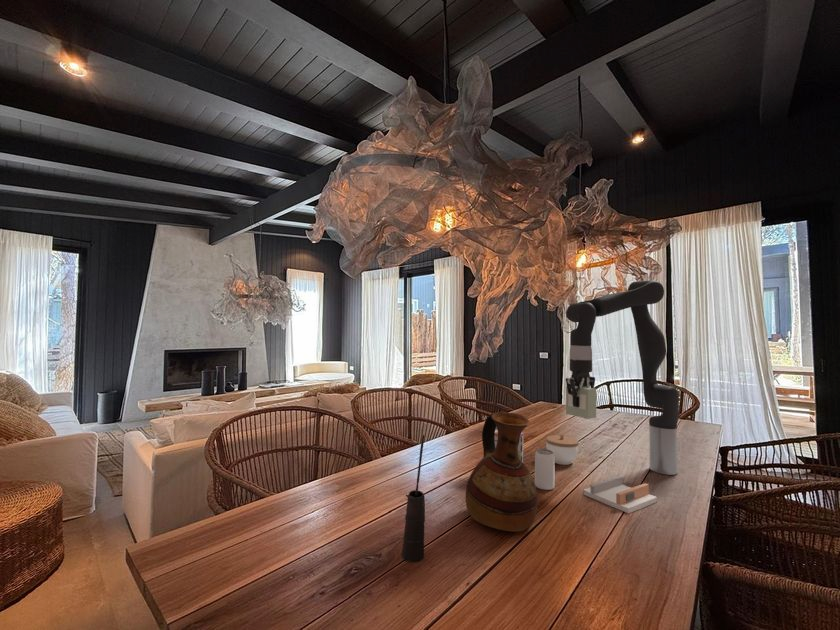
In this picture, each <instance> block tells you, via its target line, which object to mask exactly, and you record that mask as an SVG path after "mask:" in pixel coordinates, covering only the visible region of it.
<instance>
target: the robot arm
mask: <svg viewBox="0 0 840 630" xmlns="http://www.w3.org/2000/svg"><path fill="white" fill-rule="evenodd" d="M664 295H665V288H664V286H663V284H662V283H661V282H660V281H658V280H652V279H650V280H649V279H648V280H637V281H633V282H631V283H630V284H629V285H628V287H627V290H625V291H620V292H615V293H610V294H605V295H602V296H598V297H595V298H592V299H589V300H584V301H579V302H574V303H572V304H570V305H569V306H567V308H566V310H565V315H566V318H567V319H568V321H570V322H573V323H577V326H576V327H575V329H572V330H571V331H570V336H569V337H570V339H569V341H570V344H569V345H570V346H569V371H570V372H571V375H570V377H566V378H565V383H566V386H567V390H568V394H570V395H572V396H573V406H574V407H579V395H580V390H581V388H582V387H586V388H594V389H595V382H596V377H595V376H591V375H590V373H592V372H593V348H592V334H593V330H594V327H595V324H596V319H597V318H599V317H603V316H607V315H609V314H614V313H616V312H619V311H623V310H626V309H629V308H630V310H631V314H632V318H633V322H634V327H635V328H634V329H635V333H636V334H635V335H636V338H637V340H636V341H637V347H638V353H639V358H640V364H641V370H642V373H641V374H642V386H643V388H642V389H643V398H644V402H645V403H646V405H647V406H649V407H650V408H655V409H661V410H662V413H661V415H655V416H650V417H649V419H648V420H649V422H648V425H649V426H648V432H649V433H648V435H649V437H648V439H649V440H648V444H649V445H648V446H649V447H648V448H649V450H648V451H649V452H648V454H649V455H648V456H649V460H648V461H649V466H648V467H649V468H648V469H649V470H650V471H652V472H655V473H657V474H662V475H668V476H670V475H671V476H675V475H677V474H678V421H679V409H680V395H679V391H678V389H677V388H676V387H674V386H672V385H664V384H658V381H657V380H658V379H657V378H658V377H657V373H658V370H659V368H660V366H661V365H662V363H663V362H664V360H665V359H666V358H665V357H666V356H667V346H666V340H665V339H666V338H665V335H664V333H663V331H662V330H661V329H660V327H659V326H658V325H657V323H656V322H655V321H654V320H653V318H652V316H651V314H650V312H649V308H648V307H649V306H648V305H653V304H654V305H655V304H657V303H659V302H660V301H661V300H662V299H663V298H664ZM575 386H576V387H575ZM571 389H572V391H571ZM576 390H577V393H576Z"/></svg>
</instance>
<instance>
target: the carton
mask: <svg viewBox="0 0 840 630" xmlns="http://www.w3.org/2000/svg"><path fill="white" fill-rule="evenodd" d="M575 387H576V386H575ZM571 391H572V389H571ZM576 393H577V390H576ZM565 414H566V415H569V416H574V417H579V418H583V419H588V420H589V419H590V420H591V419H595V418H597V388H595V387H594V388H591V387H590V388H586V387H582V388H581V390H580V395H579V407H574V406H573V396H572V395H570V394H568V390H567V385H566V386H565Z"/></svg>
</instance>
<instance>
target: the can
mask: <svg viewBox="0 0 840 630" xmlns="http://www.w3.org/2000/svg"><path fill="white" fill-rule="evenodd" d="M555 464H556V463H555V458H554V455H553V451H551V450H547V448H539V449H536V450H535V454H534V484H535V488H536V489H539V490H542V491H552V490H554V489H555V484H556V483H555V474H556V473H555V469H556V467H555Z"/></svg>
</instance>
